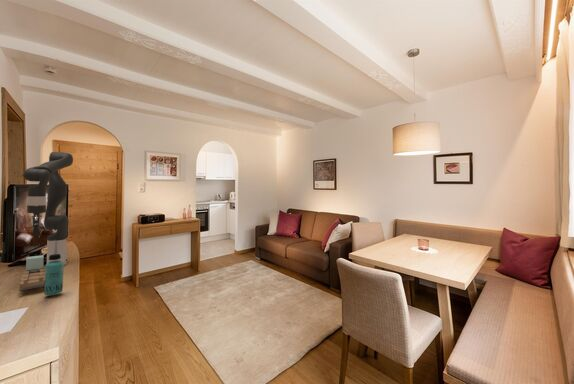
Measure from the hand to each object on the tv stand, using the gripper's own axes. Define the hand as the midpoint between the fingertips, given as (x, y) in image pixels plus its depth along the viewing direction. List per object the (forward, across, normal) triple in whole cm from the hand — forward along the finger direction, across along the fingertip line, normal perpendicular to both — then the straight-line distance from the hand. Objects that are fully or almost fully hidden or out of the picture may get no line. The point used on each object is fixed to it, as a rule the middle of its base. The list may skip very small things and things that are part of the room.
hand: (36, 234), depth 136 cm
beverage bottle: (+26, +34, +7) cm, 43 cm away
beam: (+26, +14, 0) cm, 29 cm away
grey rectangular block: (+19, +7, 0) cm, 20 cm away
